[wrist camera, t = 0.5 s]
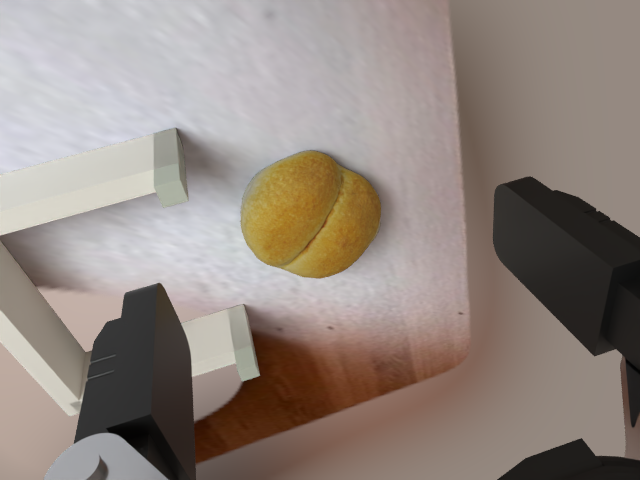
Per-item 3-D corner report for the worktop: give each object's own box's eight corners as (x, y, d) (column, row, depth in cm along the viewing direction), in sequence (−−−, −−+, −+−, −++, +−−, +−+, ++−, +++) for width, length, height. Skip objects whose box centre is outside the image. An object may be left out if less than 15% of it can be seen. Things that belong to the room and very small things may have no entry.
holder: (-66, 191, 25) (-111, 259, 21) (175, 127, 26) (179, 179, 22) (76, 367, 35) (65, 438, 31) (247, 314, 36) (259, 375, 32)
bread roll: (282, 124, 28) (298, 156, 25) (390, 188, 33) (414, 221, 30) (210, 229, 31) (216, 269, 28) (318, 274, 36) (333, 312, 33)
